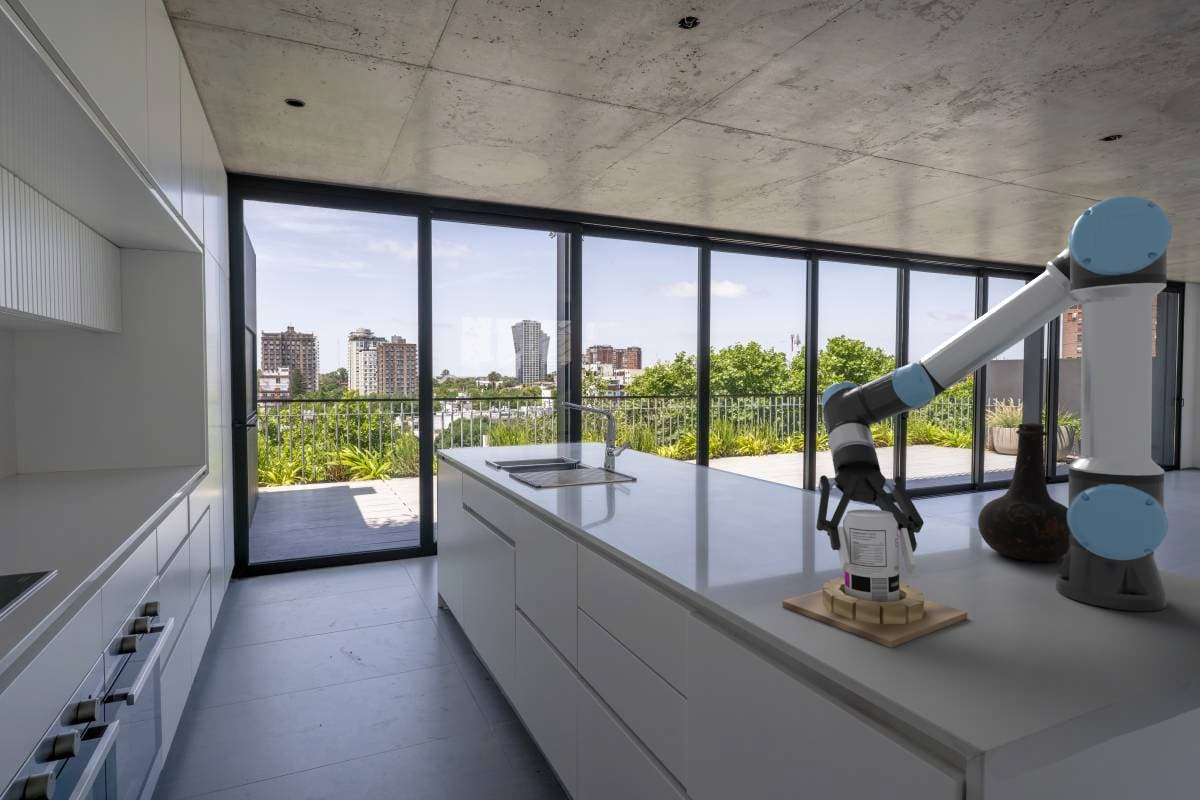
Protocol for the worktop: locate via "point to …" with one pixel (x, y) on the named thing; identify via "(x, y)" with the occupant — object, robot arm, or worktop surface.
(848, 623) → the hub seat
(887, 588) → the supplement can
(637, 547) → the worktop surface
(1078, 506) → the robot arm
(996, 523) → the dark vase
